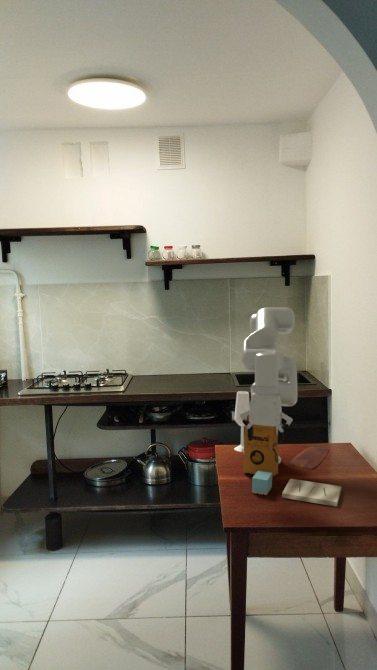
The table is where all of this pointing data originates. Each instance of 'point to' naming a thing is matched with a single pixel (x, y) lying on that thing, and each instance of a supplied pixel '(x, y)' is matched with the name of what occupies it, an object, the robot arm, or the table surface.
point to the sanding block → (262, 482)
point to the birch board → (312, 492)
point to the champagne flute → (241, 407)
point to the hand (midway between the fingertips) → (265, 441)
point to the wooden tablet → (310, 457)
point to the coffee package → (261, 450)
